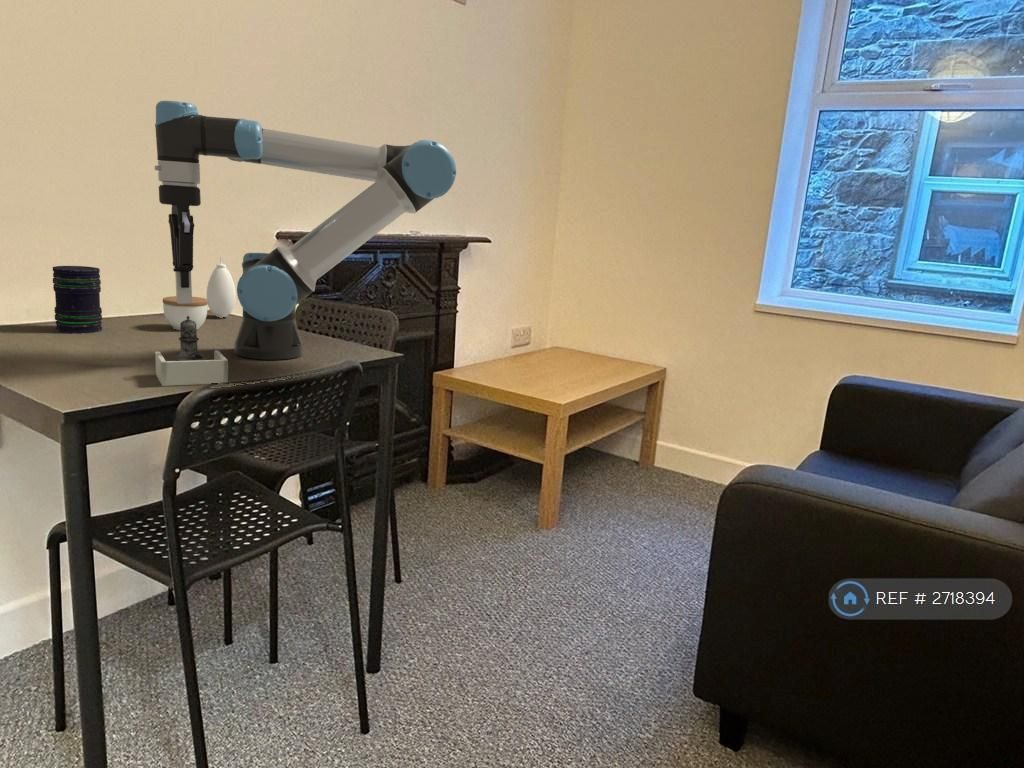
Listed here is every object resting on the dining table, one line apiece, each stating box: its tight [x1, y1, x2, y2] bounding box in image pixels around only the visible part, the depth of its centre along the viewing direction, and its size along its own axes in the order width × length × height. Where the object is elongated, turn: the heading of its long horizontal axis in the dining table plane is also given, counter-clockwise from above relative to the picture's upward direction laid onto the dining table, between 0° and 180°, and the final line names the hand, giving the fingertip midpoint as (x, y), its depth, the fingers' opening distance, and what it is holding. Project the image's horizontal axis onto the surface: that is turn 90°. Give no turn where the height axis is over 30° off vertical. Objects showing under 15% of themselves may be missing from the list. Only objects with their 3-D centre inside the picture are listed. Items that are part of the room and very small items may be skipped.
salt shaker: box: [172, 316, 206, 361], centre depth 142 cm, size 6×6×12 cm
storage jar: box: [52, 265, 103, 335], centre depth 173 cm, size 10×10×15 cm
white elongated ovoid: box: [206, 254, 237, 319], centre depth 207 cm, size 8×8×18 cm
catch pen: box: [154, 350, 229, 387], centre depth 140 cm, size 12×9×4 cm
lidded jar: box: [162, 295, 209, 331], centre depth 188 cm, size 11×11×9 cm
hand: (184, 302), depth 149 cm, fingers closed
